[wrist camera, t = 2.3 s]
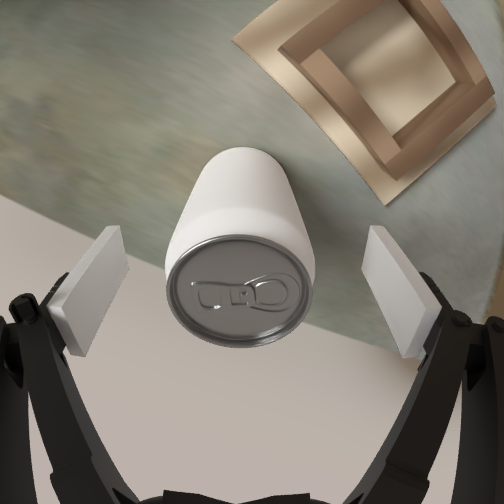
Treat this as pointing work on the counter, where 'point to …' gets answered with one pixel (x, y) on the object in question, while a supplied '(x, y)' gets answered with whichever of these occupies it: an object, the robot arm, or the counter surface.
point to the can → (240, 254)
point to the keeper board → (375, 79)
